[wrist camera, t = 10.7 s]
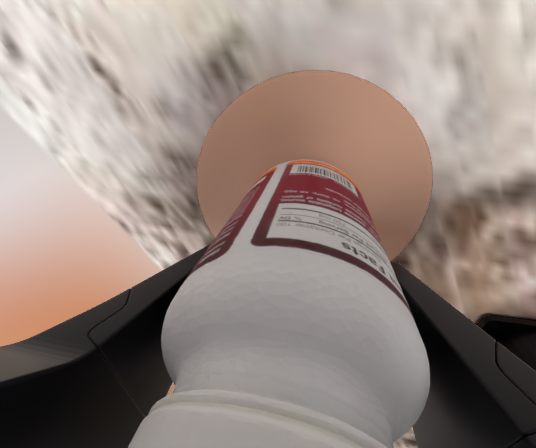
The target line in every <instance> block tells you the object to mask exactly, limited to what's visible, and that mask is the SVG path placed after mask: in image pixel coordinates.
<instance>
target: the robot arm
mask: <svg viewBox="0 0 536 448" xmlns="http://www.w3.org/2000/svg"><path fill="white" fill-rule="evenodd" d="M210 245H211V244H210ZM210 245H208V246H206V247H205V248H203V249H201V250H199V251H197V252H195V253H194V254H192V255H190V256H188V257H186V258H185V259H183V260H181V261H179V262H177V263H175V264H174V265H172V266H170V267H168V268H166V269H164V270H163V271H161V272H159V273H157V274H155V275H154V276H152V277H150V278H148V279H147V280H144V281H143V282H141V283H139V284H137V285H135V286H134V287H132V288H131V289H128V290H126V291H124V292H123V293H121V294H119V295H117V296H115V297H113V298H111V299H110V300H108V301H106V302H104V303H102V304H100V305H98V306H96V307H94V308H92V309H90V310H88V311H86V312H83V313H81V314H79V315H77V316H75V317H73V318H71V319H69V320H67V321H65V322H63V323H61V324H59V325H56V326H54V327H52V328H50V329H48V330H46V331H44V332H42V333H40V334H38V335H35V336H33V337H31V338H29V339H26V340H23V341H20V342H17V343H14V344H11V345H6V346H2V347H0V448H128V446H129V444H130V442H131V441H132V439H133V437H134V435H135V433H136V431H137V429H138V427H139V426H140V424H141V422H142V421H143V419H144V418H145V417H146V416H148V414H149V412H150V410H151V408H152V407H153V406H154V404H155V403H156V402H157V401H159V400H160V399H162V398H164V397H166V395H167V393H168V391H169V389H170V386H171V384H172V382H173V381H172V379H171V377H170V375H169V373H168V371H167V369H166V366H165V363H164V359H163V354H162V347H161V334H162V328H163V323H164V319H165V316H166V313H167V310H168V308H169V305H170V303H171V302H172V300H173V298H174V297H175V295H176V294H177V292H178V290H179V289H180V287H181V286H182V284H183V283H184V281H185V279H186V278H187V276H188V275H189V274H190V272H191V271H192V270H193V268H194V267H195V266H196V264H197V263H198V262H199V260H200V259H201V257H202V256H203V255H204V253H205V252H206V251H207V249H208V248H209V246H210ZM390 263H391V266H392V268H393V270H394V273H395V275H396V278H397V280H398V282H399V284H400V286H401V289H402V292H403V294H404V297H405V299H406V301H407V303H408V305H409V308H410V310H411V312H412V314H413V317H414V320H415V323H416V326H417V328H418V331H419V333H420V336H421V338H422V341H423V343H424V346H425V348H426V353H427V357H428V361H429V368H430V388H429V394H428V397H427V401H426V404H425V407H424V409H423V411H422V413H421V415H420V417H419V418H418V420H417V421H416V422H415V424H414V425H413V426H412V427H413V430H414V434H415V438H416V441H417V445H418V448H536V321H532V320H524V319H516V318H508V317H500V316H486V317H483V318H482V319H481V321H480V322H479V323H478V325H476V324H474V323H473V322H472V321H471V320H469V319H468V318H467V317H466V316H464V315H463V314H462V313H461V312H459V311H458V310H457V309H455V308H454V307H453V306H452V305H450V304H449V303H448V302H447V301H445V300H444V299H443V298H442V297H440V296H439V295H438V294H436V293H435V292H434V291H433V290H431V289H430V288H429V287H428V286H426V285H425V284H424V283H423V282H421V281H420V280H419V279H417V278H416V277H415V276H414V275H412V274H411V273H410V272H409V271H407V270H406V269H405V268H404V267H402V266H401V265H400V264H399V263H397V262H391V261H390Z"/></svg>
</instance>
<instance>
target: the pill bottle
mask: <svg viewBox="0 0 536 448" xmlns="http://www.w3.org/2000/svg"><path fill="white" fill-rule="evenodd" d="M161 347H162V354H163V359H164V363H165V366H166V369H167V371H168V373H169V375H170V377H171V379H172V381H173V383H174V384H175V389H174V392H173V394H171V395H169V396H166V397H164V398H162V399H160V400H159V401H157V402H156V403H155V404H154V406H153V407H152V408H151V410H150V412H149V414H148V416H146V417H145V418H144V419H143V421H142V422H141V424H140V426H139V427H138V429H137V431H136V433H135V435H134V437H133V439H132V441H131V442H130V444H129V446H128V448H393V442H394V441H396V440H397V439H399V438H400V437H401V436H402V435H404V434H405V433H406V432H408V431H409V430H410V429H411V427H412V426H413V425H414V424H415V422H416V421H417V420H418V418H419V417H420V415H421V413H422V411H423V409H424V407H425V404H426V401H427V397H428V394H429V388H430V368H429V361H428V357H427V353H426V348H425V346H424V343H423V341H422V338H421V336H420V333H419V331H418V328H417V326H416V323H415V320H414V317H413V314H412V312H411V310H410V308H409V305H408V303H407V301H406V299H405V297H404V294H403V292H402V289H401V286H400V284H399V282H398V280H397V278H396V275H395V273H394V270H393V268H392V266H391V263H390V261H389V259H388V256H387V254H386V252H385V249H384V246H383V244H382V242H381V239H380V237H379V234H378V232H377V230H376V228H375V225H374V223H373V220H372V218H371V216H370V213H369V211H368V209H367V206H366V204H365V201H364V199H363V197H362V194H361V192H360V191H359V189H358V188H357V186H356V185H355V183H354V182H353V181H352V180H351V179H350V178H349V177H348V176H347V175H346V174H345V173H344V172H342V171H341V170H339V169H338V168H336V167H334V166H332V165H330V164H327V163H325V162H321V161H317V160H310V159H300V160H292V161H288V162H284V163H281V164H279V165H277V166H275V167H273V168H271V169H270V170H268V171H267V172H265V173H264V174H263V175H262V176H261V177H260V178H259V179H258V180H257V181H256V182H255V183H254V185H253V186H252V187H251V189H250V190H249V191H248V193H247V194H246V196H245V197H244V198H243V200H242V201H241V203H240V204H239V206H238V207H237V208H236V210H235V211H234V213H233V214H232V215H231V217H230V218H229V220H228V221H227V222H226V224H225V225H224V227H223V228H222V229H221V231H220V232H219V234H218V235H217V236H216V238H215V239H214V241H213V242H212V243H211V245H210V246H209V248H208V249H207V251H206V252H205V253H204V255H203V256H202V257H201V259H200V260H199V262H198V263H197V264H196V266H195V267H194V268H193V270H192V271H191V272H190V274H189V275H188V276H187V278H186V279H185V281H184V283H183V284H182V286H181V287H180V289H179V290H178V292H177V294H176V295H175V297H174V298H173V300H172V302H171V303H170V305H169V308H168V310H167V313H166V316H165V319H164V323H163V328H162V334H161Z"/></svg>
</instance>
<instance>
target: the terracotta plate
mask: <svg viewBox="0 0 536 448" xmlns="http://www.w3.org/2000/svg"><path fill="white" fill-rule="evenodd" d="M300 159H310V160H317V161H321V162H325V163H327V164H330V165H332V166H334V167H336V168H338V169H339V170H341V171H342V172H344V173H345V174H346V175H347V176H348V177H349V178H350V179H351V180H352V181H353V182H354V183H355V185H356V186H357V188H358V189H359V191H360V192H361V194H362V197H363V199H364V201H365V204H366V206H367V209H368V211H369V213H370V216H371V218H372V220H373V223H374V225H375V228H376V230H377V232H378V234H379V237H380V239H381V242H382V244H383V246H384V249H385V252H386V254H387V256H388V259H389V261H392V260H393V259H394V258H395V257H396V256H397V255H398V254H400V253H401V252H402V251H403V250H404V249H405V247H406V246H407V245H408V244H409V243H410V241H411V240H412V239H413V237H414V236H415V234H416V233H417V231H418V229H419V228H420V226H421V224H422V222H423V220H424V217H425V215H426V213H427V209H428V206H429V203H430V199H431V192H432V184H433V176H432V163H431V158H430V153H429V149H428V146H427V143H426V141H425V138H424V136H423V133H422V132H421V130H420V128H419V127H418V125H417V123H416V122H415V120H414V118H413V117H412V116H411V115H410V113H409V112H408V111H407V110H406V109H405V108H404V107H403V105H402V104H401V103H400V102H398V101H397V100H396V99H395V98H394V97H392V96H391V95H390V94H389V93H387V92H386V91H385V90H383V89H381V88H379V87H378V86H376V85H374V84H372V83H370V82H369V81H366V80H363V79H361V78H358V77H355V76H352V75H349V74H344V73H339V72H334V71H320V70H308V71H300V72H292V73H287V74H284V75H280V76H277V77H273V78H271V79H268V80H266V81H264V82H262V83H260V84H257V85H255V86H254V87H252V88H251V89H249V90H248V91H246V92H244V93H243V94H241V95H240V96H239V97H238V98H236V99H235V100H234V101H233V102H232V103H231V104H230V105H229V106H227V107H226V109H225V110H224V111H223V112H222V113H221V115H220V116H219V117H218V118H217V119H216V121H215V123H214V124H213V126H212V127H211V129H210V131H209V132H208V134H207V137H206V139H205V141H204V144H203V146H202V149H201V153H200V156H199V160H198V167H197V194H198V201H199V204H200V208H201V212H202V214H203V217H204V219H205V222H206V224H207V226H208V228H209V230H210V232H211V233H212V235H213V236H214V238H216V236H217V235H218V234H219V232H220V231H221V229H222V228H223V227H224V225H225V224H226V222H227V221H228V220H229V218H230V217H231V215H232V214H233V213H234V211H235V210H236V208H237V207H238V206H239V204H240V203H241V201H242V200H243V198H244V197H245V196H246V194H247V193H248V191H249V190H250V189H251V187H252V186H253V185H254V183H255V182H256V181H257V180H258V179H259V178H260V177H261V176H262V175H263V174H264V173H265V172H267V171H268V170H270V169H271V168H273V167H275V166H277V165H279V164H281V163H284V162H288V161H292V160H300Z"/></svg>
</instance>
